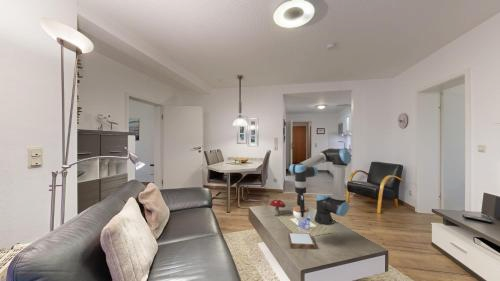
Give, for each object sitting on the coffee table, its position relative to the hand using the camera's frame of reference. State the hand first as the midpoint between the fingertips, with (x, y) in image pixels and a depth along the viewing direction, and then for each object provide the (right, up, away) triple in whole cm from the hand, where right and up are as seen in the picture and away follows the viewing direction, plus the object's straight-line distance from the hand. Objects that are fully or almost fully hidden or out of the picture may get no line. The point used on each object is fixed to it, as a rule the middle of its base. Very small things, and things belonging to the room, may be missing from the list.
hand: (300, 217), depth 140 cm
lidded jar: (0, -1, 0) cm, 1 cm away
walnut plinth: (0, -18, 0) cm, 18 cm away
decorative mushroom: (-9, -17, +51) cm, 55 cm away
